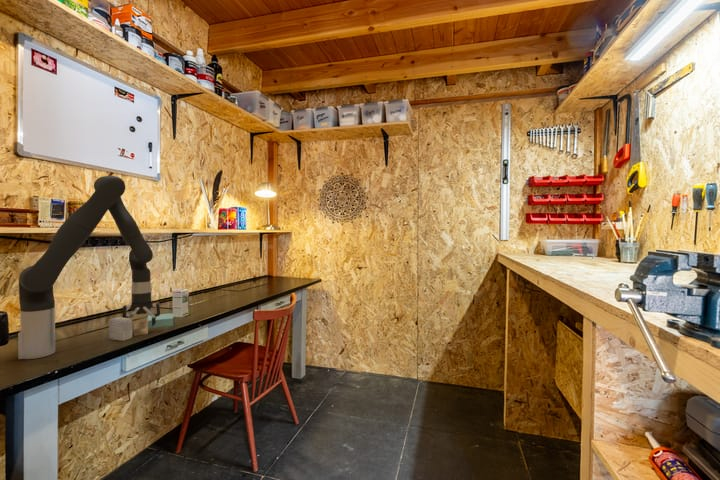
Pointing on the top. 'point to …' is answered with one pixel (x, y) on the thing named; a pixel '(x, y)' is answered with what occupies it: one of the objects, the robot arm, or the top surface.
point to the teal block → (161, 320)
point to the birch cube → (141, 328)
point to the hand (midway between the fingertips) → (141, 326)
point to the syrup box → (180, 302)
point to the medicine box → (120, 328)
